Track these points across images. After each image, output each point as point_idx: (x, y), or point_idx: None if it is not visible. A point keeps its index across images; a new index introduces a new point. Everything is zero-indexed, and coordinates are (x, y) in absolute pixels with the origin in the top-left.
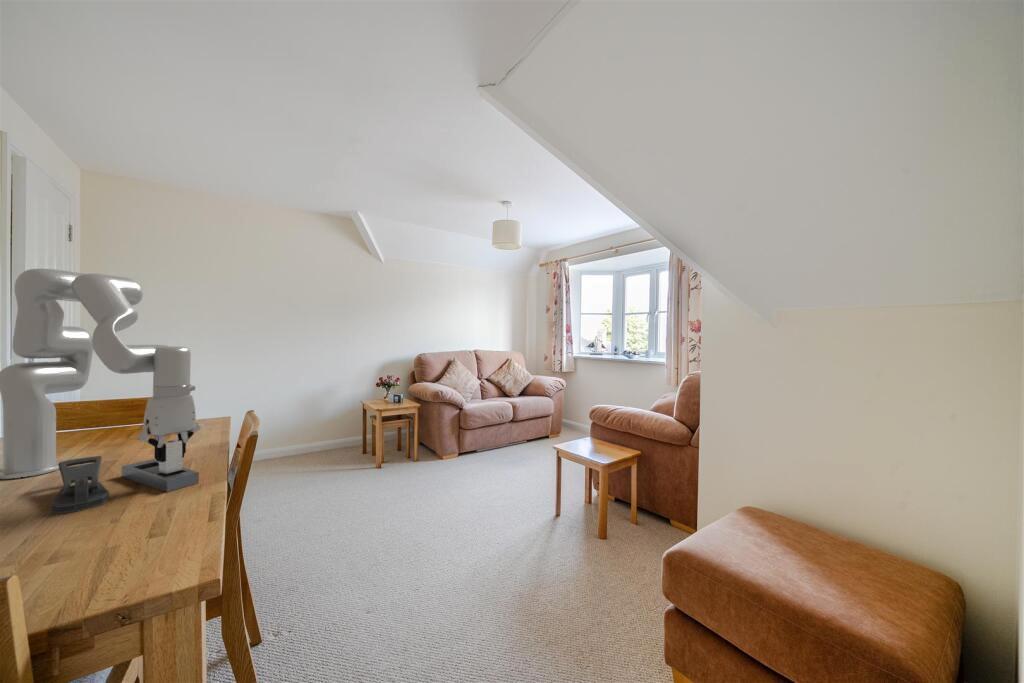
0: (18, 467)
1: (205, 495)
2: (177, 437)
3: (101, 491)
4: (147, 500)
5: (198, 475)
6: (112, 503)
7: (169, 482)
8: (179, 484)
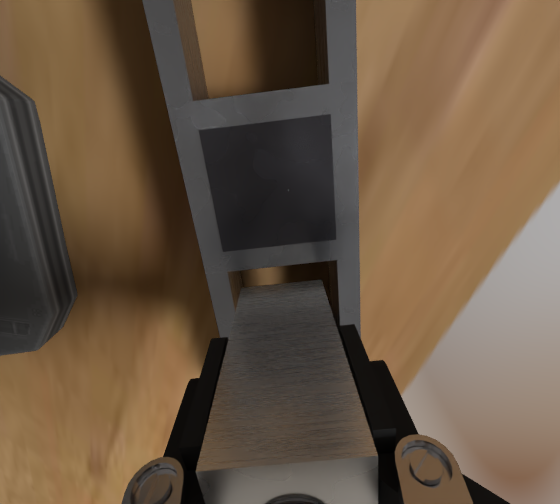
0: None
1: None
2: (403, 500)
3: (24, 291)
4: (179, 393)
5: None
6: (88, 339)
7: None
8: None
